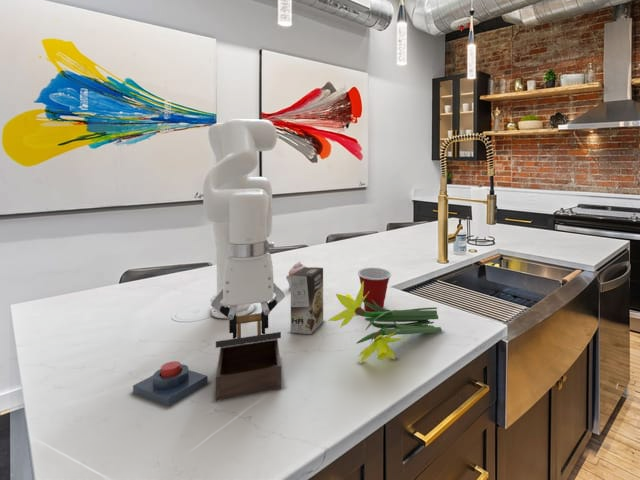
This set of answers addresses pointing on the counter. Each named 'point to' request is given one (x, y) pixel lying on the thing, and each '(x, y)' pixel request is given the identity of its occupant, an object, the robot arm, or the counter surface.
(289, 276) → the cupcake
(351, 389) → the counter surface
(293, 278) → the coffee box
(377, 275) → the plastic cup
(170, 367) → the red push button
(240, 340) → the dark slab with handle
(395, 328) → the daffodil flowers
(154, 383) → the blue button base
